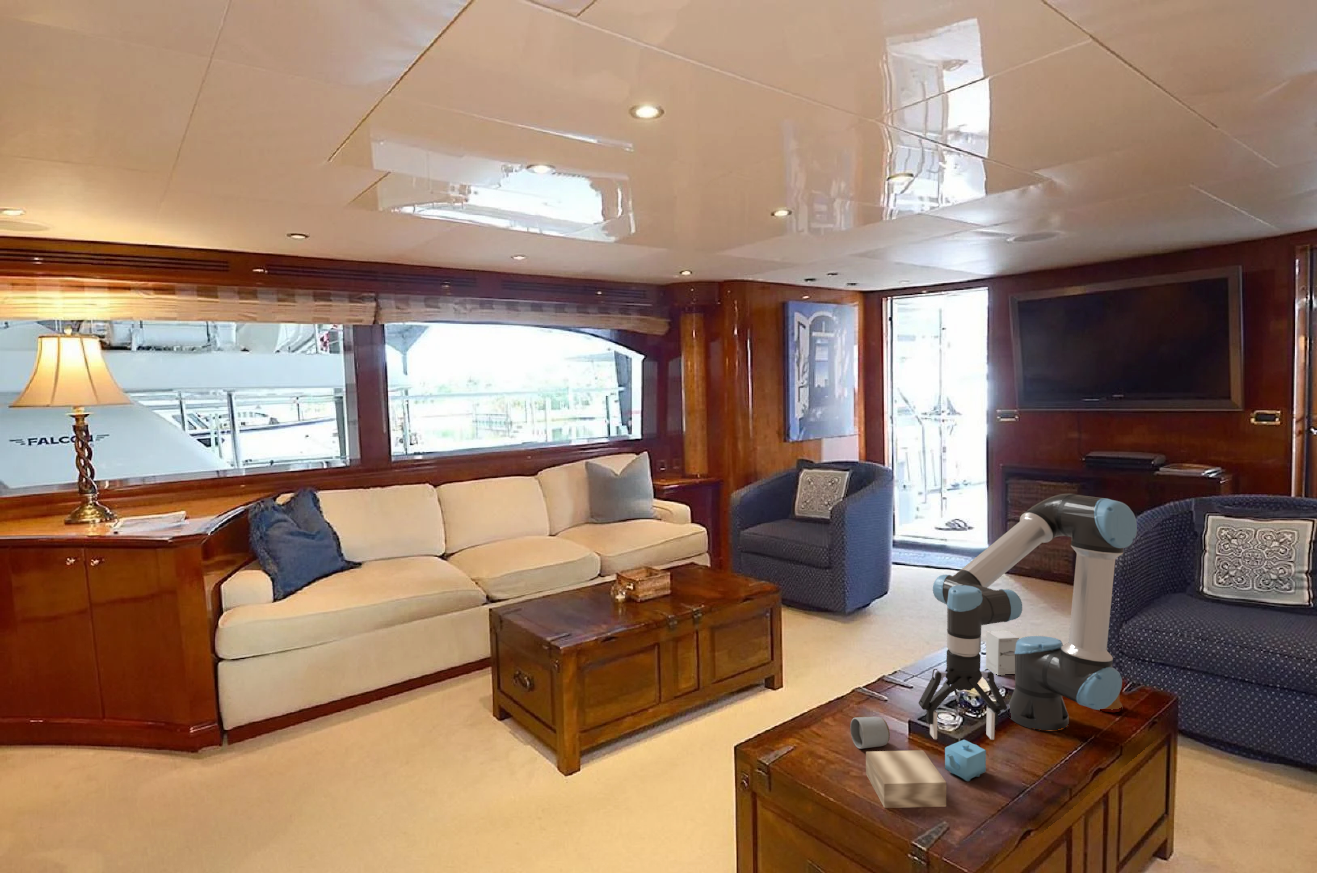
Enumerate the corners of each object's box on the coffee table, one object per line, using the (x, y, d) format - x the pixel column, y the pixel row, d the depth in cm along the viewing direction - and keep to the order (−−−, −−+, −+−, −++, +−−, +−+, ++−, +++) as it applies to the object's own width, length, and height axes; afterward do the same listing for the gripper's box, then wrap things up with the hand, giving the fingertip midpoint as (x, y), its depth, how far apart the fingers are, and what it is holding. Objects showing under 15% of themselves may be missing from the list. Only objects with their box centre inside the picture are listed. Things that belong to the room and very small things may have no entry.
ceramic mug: (892, 750, 184) (891, 721, 183) (863, 754, 182) (863, 725, 181) (871, 731, 194) (871, 704, 194) (844, 735, 192) (843, 708, 192)
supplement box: (997, 676, 227) (998, 638, 226) (985, 667, 234) (985, 630, 234) (1019, 675, 228) (1020, 637, 227) (1006, 666, 235) (1006, 629, 234)
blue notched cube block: (957, 788, 166) (957, 758, 165) (935, 776, 171) (935, 746, 171) (989, 773, 172) (989, 744, 171) (967, 762, 177) (967, 733, 176)
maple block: (922, 773, 173) (922, 750, 173) (946, 807, 159) (946, 782, 159) (866, 775, 173) (865, 751, 173) (884, 809, 159) (884, 784, 159)
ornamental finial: (1096, 713, 201) (1088, 701, 208) (1126, 715, 199) (1116, 703, 206) (1097, 686, 200) (1088, 675, 208) (1127, 688, 199) (1117, 677, 206)
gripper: (1008, 645, 173) (1006, 729, 174) (906, 645, 173) (904, 728, 175) (1023, 657, 165) (1021, 744, 166) (916, 657, 166) (915, 744, 167)
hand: (961, 736), depth 171 cm, fingers open, 13 cm apart
